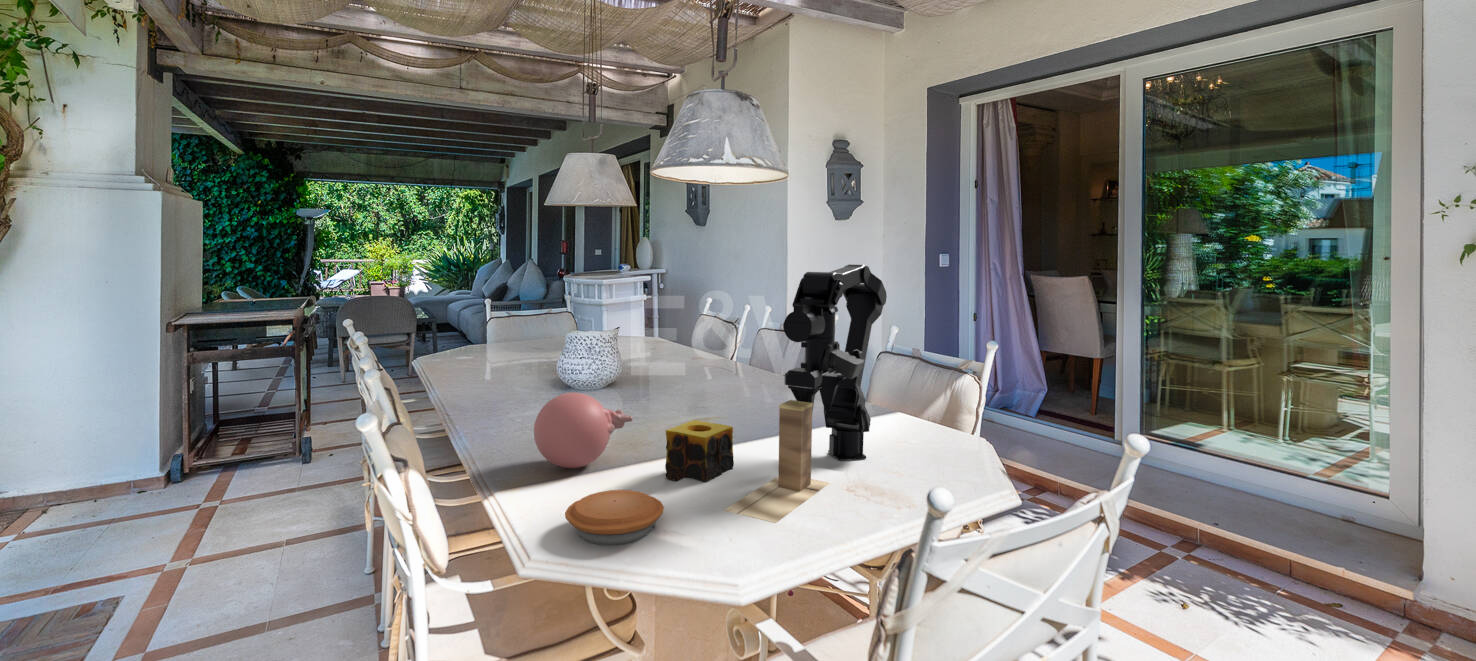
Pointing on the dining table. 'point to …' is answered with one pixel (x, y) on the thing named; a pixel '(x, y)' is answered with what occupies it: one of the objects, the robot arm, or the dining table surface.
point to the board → (774, 500)
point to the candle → (699, 451)
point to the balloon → (575, 429)
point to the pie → (614, 516)
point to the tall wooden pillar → (795, 445)
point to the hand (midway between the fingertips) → (818, 415)
